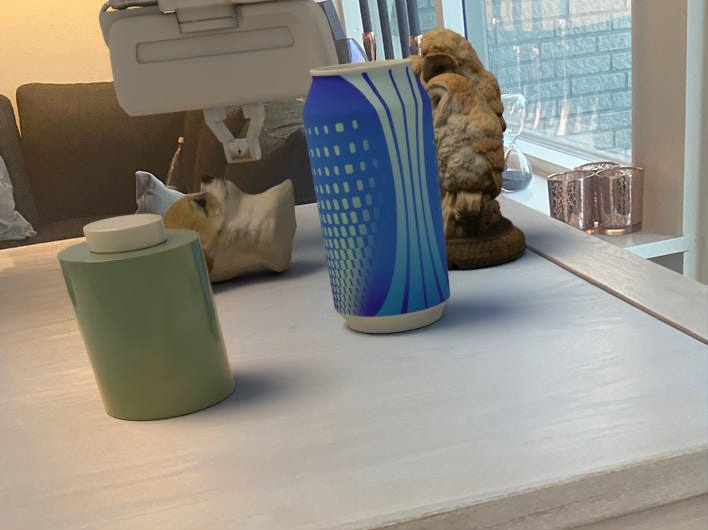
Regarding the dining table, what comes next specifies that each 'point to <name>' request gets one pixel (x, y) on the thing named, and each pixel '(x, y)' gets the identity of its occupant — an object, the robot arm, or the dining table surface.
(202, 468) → the dining table surface
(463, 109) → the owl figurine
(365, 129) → the beer can
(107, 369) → the green lidded jar
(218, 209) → the ceramic sculpture
